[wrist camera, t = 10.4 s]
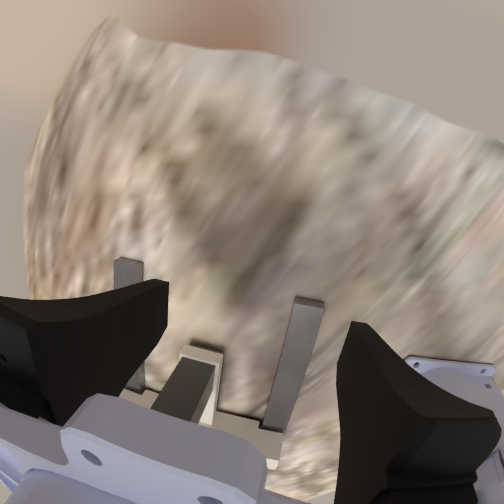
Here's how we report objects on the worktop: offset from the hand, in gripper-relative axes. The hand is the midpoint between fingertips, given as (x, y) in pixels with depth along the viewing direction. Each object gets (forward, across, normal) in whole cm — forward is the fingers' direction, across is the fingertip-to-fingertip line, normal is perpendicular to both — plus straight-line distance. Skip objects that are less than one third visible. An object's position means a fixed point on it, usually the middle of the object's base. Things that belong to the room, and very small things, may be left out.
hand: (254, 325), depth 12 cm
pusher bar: (+9, +4, +12) cm, 16 cm away
